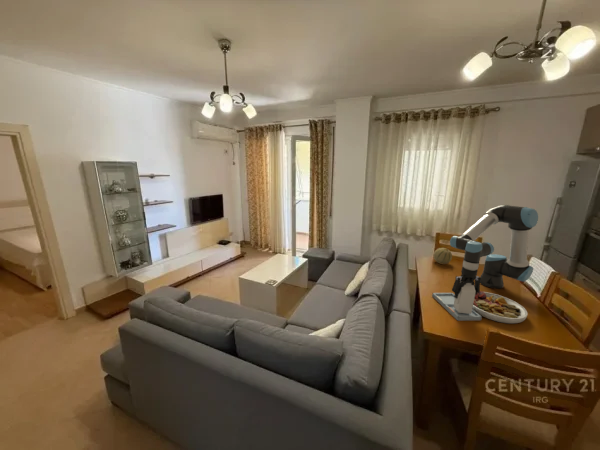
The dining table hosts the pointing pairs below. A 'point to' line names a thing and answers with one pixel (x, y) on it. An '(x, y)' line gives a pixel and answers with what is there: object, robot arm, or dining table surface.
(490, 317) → the plate of food
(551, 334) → the dining table surface
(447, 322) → the dining table surface
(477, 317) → the divided tray
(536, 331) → the dining table surface
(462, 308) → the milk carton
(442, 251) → the cantaloupe
